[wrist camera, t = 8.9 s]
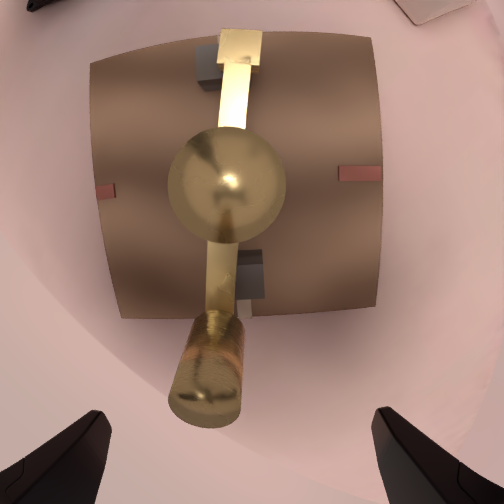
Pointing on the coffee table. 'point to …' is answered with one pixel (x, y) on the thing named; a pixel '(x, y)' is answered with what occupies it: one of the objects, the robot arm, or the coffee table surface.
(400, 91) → the coffee table surface
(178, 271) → the post base
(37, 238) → the coffee table surface
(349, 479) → the coffee table surface
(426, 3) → the medicine bottle
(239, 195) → the crank handle
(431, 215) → the coffee table surface
